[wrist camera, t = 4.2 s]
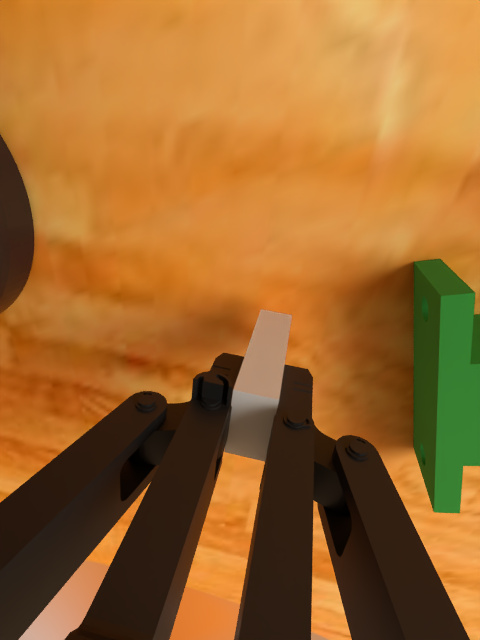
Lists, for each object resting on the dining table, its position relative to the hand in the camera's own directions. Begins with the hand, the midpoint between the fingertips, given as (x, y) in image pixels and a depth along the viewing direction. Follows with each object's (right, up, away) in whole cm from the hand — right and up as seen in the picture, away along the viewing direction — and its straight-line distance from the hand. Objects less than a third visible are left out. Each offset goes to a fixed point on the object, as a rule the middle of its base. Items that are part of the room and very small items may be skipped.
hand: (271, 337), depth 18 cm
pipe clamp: (+9, -1, +1) cm, 9 cm away
